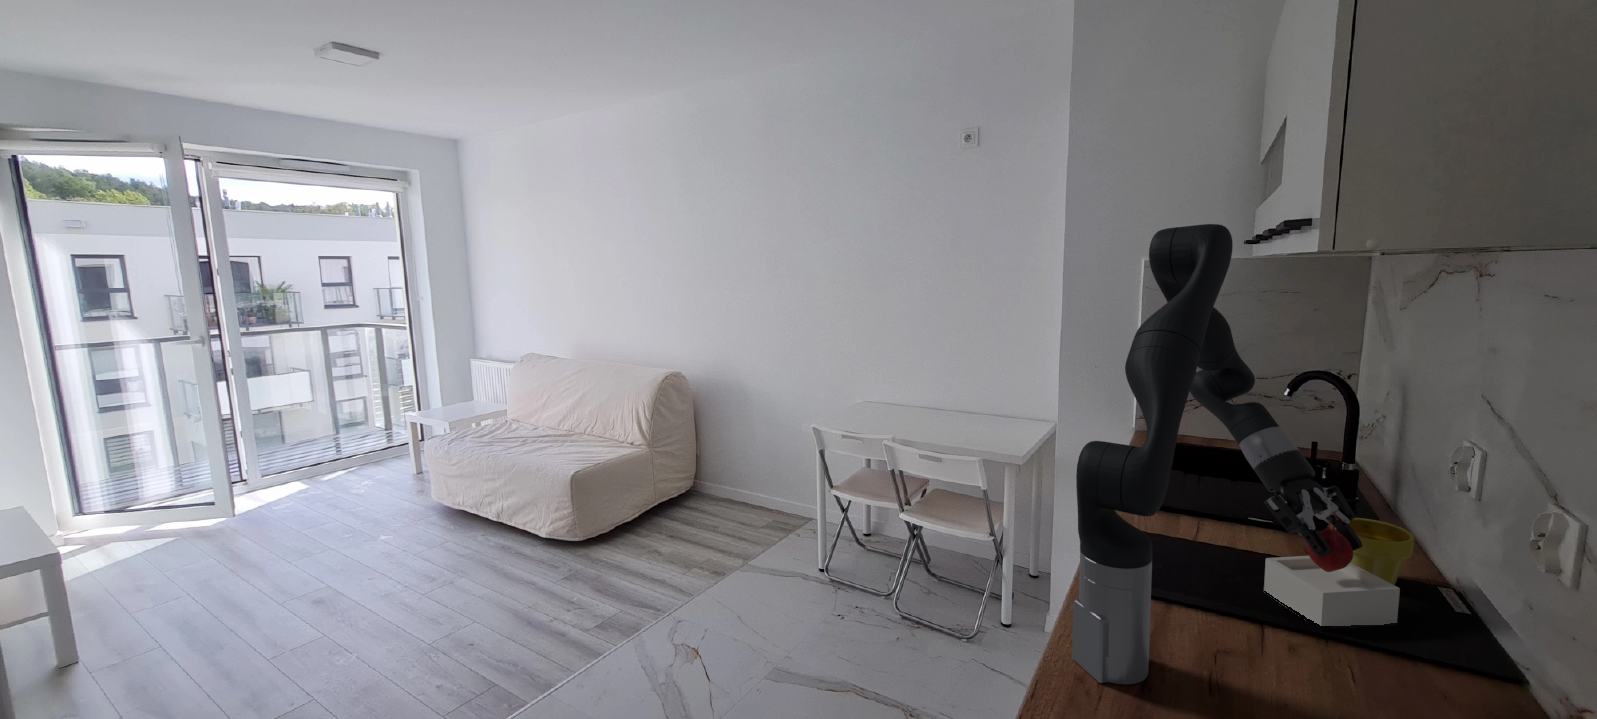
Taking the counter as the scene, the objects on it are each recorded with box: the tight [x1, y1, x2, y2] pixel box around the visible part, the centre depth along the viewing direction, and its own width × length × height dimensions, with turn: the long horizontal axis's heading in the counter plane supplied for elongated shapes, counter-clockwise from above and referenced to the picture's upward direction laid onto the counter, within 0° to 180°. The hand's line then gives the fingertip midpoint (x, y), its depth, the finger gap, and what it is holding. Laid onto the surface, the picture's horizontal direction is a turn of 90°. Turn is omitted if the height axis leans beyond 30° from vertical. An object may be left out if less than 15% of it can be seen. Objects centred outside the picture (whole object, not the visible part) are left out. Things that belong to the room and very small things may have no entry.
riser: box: [1263, 555, 1401, 626], centre depth 106 cm, size 12×12×6 cm
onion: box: [1306, 524, 1353, 572], centre depth 105 cm, size 6×6×8 cm
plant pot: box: [1349, 517, 1415, 586], centre depth 113 cm, size 10×10×10 cm
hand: (1341, 551), depth 103 cm, fingers closed on onion, 5 cm apart
